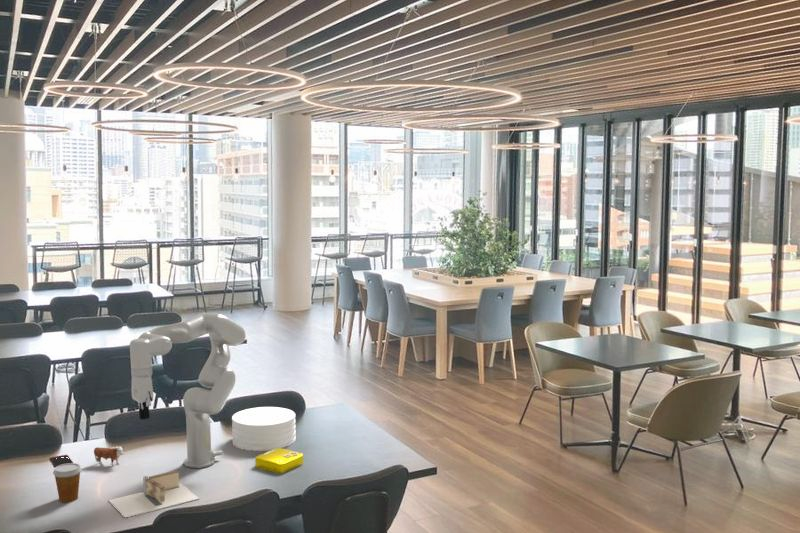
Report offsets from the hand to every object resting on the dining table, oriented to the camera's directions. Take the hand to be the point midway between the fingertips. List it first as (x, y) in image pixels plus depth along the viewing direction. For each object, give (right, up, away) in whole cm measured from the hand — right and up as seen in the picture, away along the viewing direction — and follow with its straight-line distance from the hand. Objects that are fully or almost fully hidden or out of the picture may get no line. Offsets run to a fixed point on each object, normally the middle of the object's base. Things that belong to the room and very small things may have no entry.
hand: (144, 418), depth 300 cm
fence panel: (+8, -27, -12) cm, 30 cm away
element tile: (+48, -24, +24) cm, 59 cm away
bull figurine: (-22, -24, +24) cm, 40 cm away
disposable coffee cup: (-24, -28, -11) cm, 38 cm away
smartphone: (-43, -24, +26) cm, 56 cm away
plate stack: (+36, -21, +55) cm, 69 cm away
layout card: (+7, -28, -12) cm, 31 cm away
